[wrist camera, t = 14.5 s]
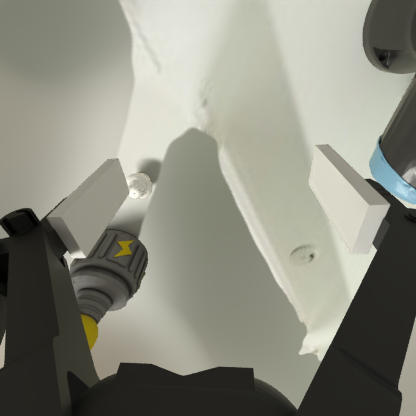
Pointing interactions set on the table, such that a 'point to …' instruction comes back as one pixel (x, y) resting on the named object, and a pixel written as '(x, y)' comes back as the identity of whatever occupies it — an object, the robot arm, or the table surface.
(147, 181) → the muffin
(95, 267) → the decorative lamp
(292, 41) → the table surface
